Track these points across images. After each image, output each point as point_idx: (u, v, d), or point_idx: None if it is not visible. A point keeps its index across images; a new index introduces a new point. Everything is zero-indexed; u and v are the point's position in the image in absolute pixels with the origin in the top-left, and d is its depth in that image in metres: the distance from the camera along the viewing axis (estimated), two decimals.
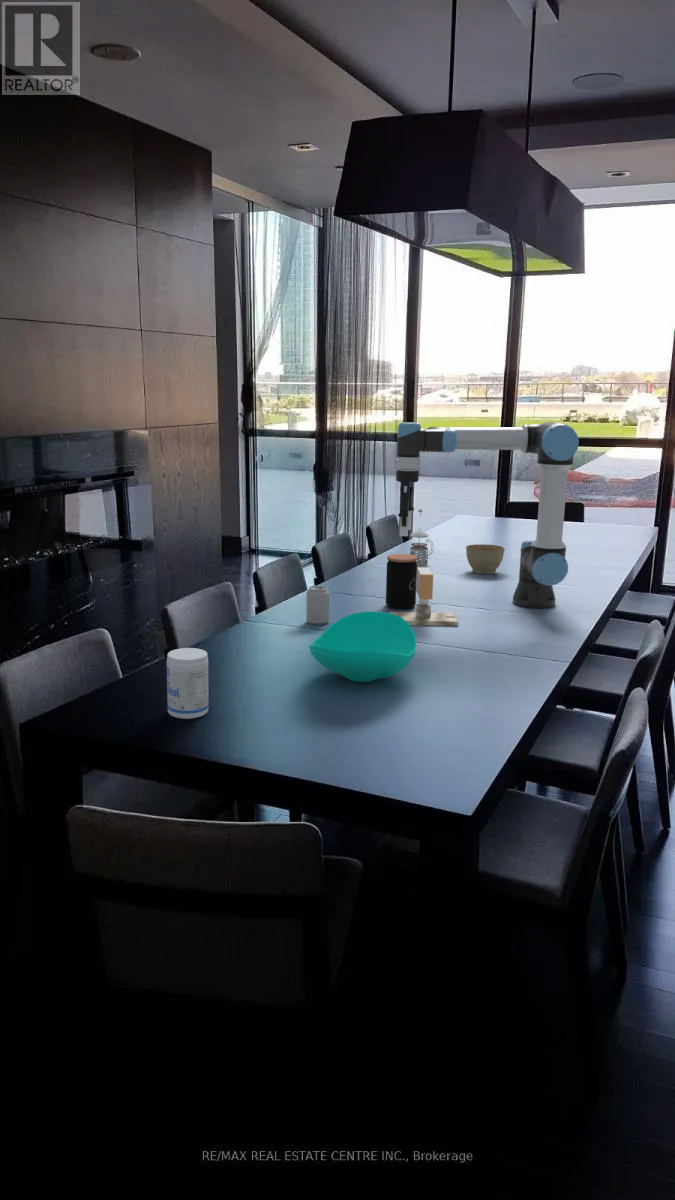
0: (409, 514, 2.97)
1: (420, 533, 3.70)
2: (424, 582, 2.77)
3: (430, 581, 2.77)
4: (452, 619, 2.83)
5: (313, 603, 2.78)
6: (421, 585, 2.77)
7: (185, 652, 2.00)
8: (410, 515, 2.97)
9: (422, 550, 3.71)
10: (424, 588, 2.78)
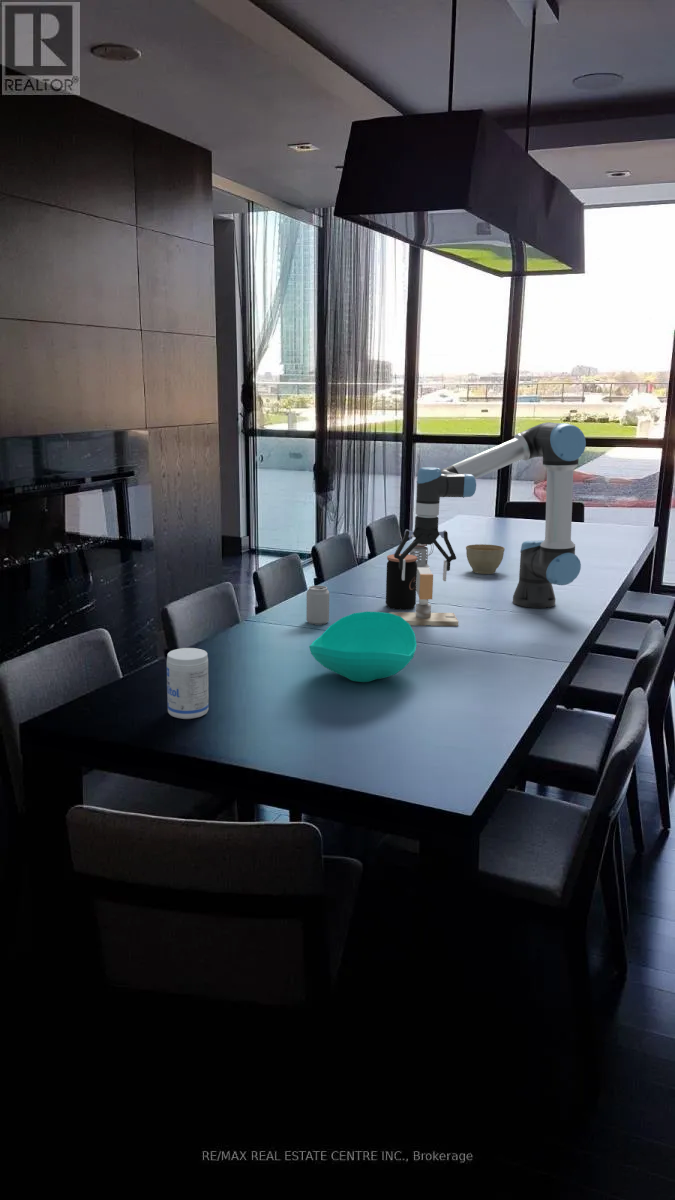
0: (444, 564, 2.81)
1: None
2: (424, 582, 2.77)
3: (430, 581, 2.77)
4: (452, 619, 2.83)
5: (313, 603, 2.78)
6: (421, 585, 2.77)
7: (185, 652, 2.00)
8: (444, 566, 2.81)
9: (422, 550, 3.71)
10: (424, 588, 2.78)
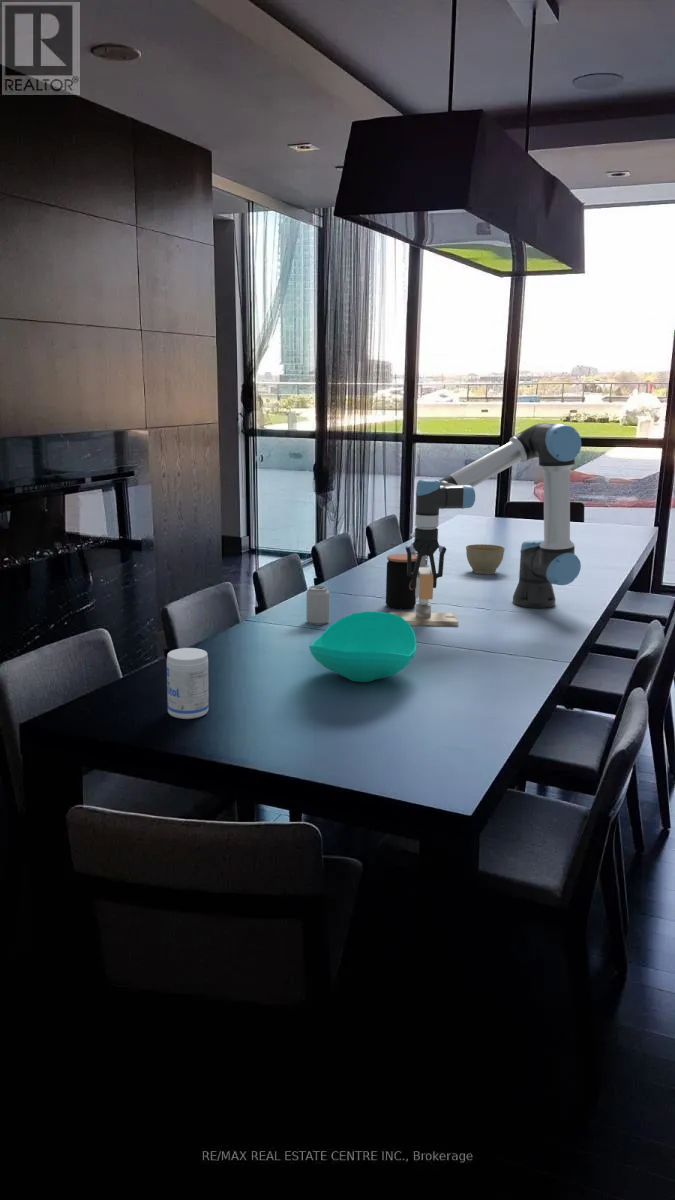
0: None
1: None
2: (424, 582, 2.77)
3: (430, 581, 2.77)
4: (452, 619, 2.83)
5: (313, 603, 2.78)
6: (421, 585, 2.77)
7: (185, 652, 2.00)
8: None
9: None
10: (424, 588, 2.78)
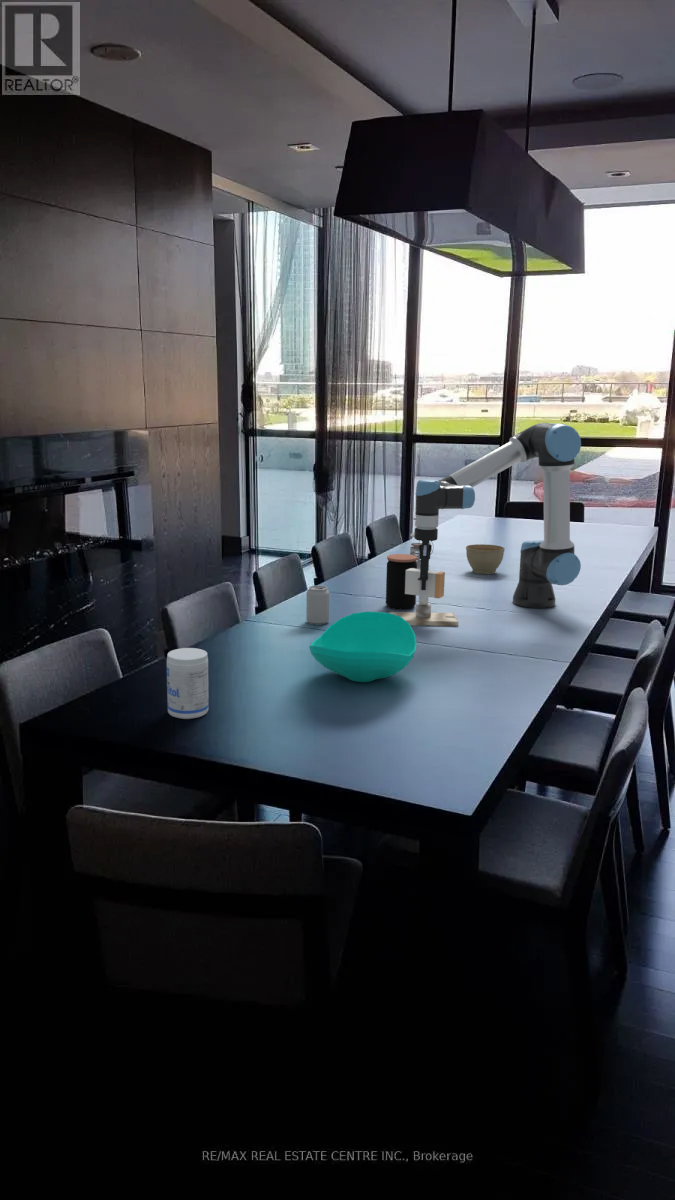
0: None
1: None
2: (441, 580, 2.80)
3: (443, 578, 2.81)
4: (452, 619, 2.83)
5: (313, 603, 2.78)
6: (440, 584, 2.79)
7: (185, 652, 2.00)
8: None
9: None
10: (441, 586, 2.80)
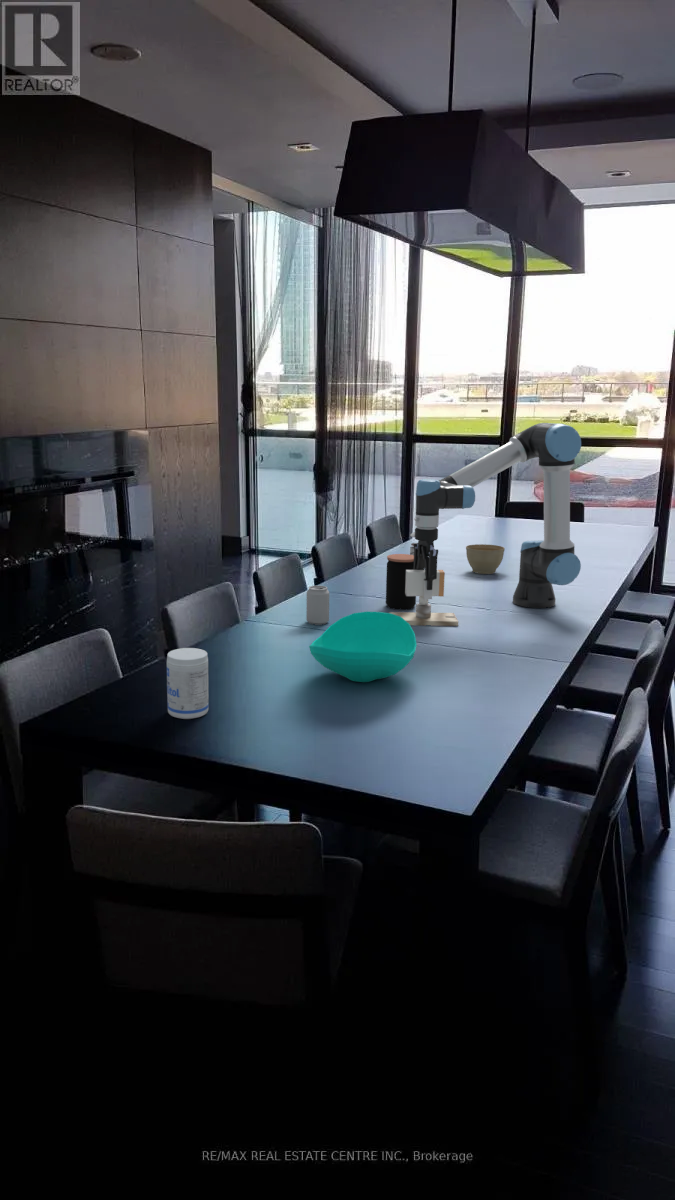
0: None
1: None
2: None
3: None
4: (452, 619, 2.83)
5: (313, 603, 2.78)
6: None
7: (185, 652, 2.00)
8: None
9: None
10: None
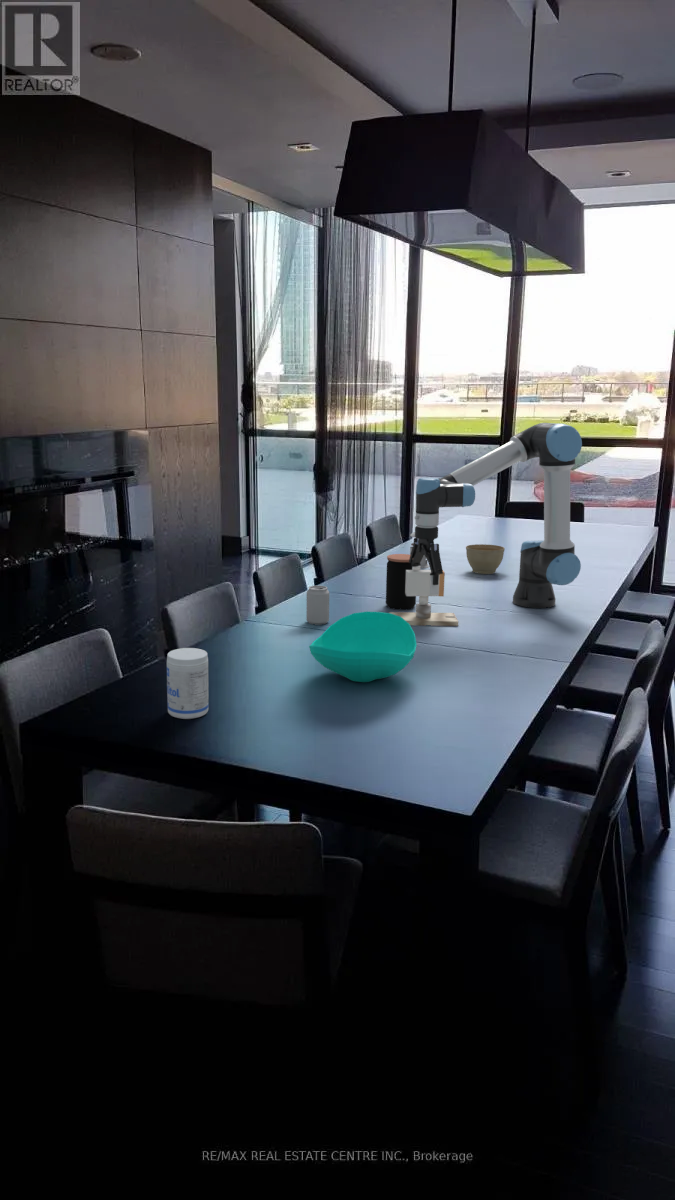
0: (418, 569, 2.89)
1: None
2: None
3: None
4: (452, 619, 2.83)
5: (313, 603, 2.78)
6: None
7: (185, 652, 2.00)
8: None
9: None
10: None
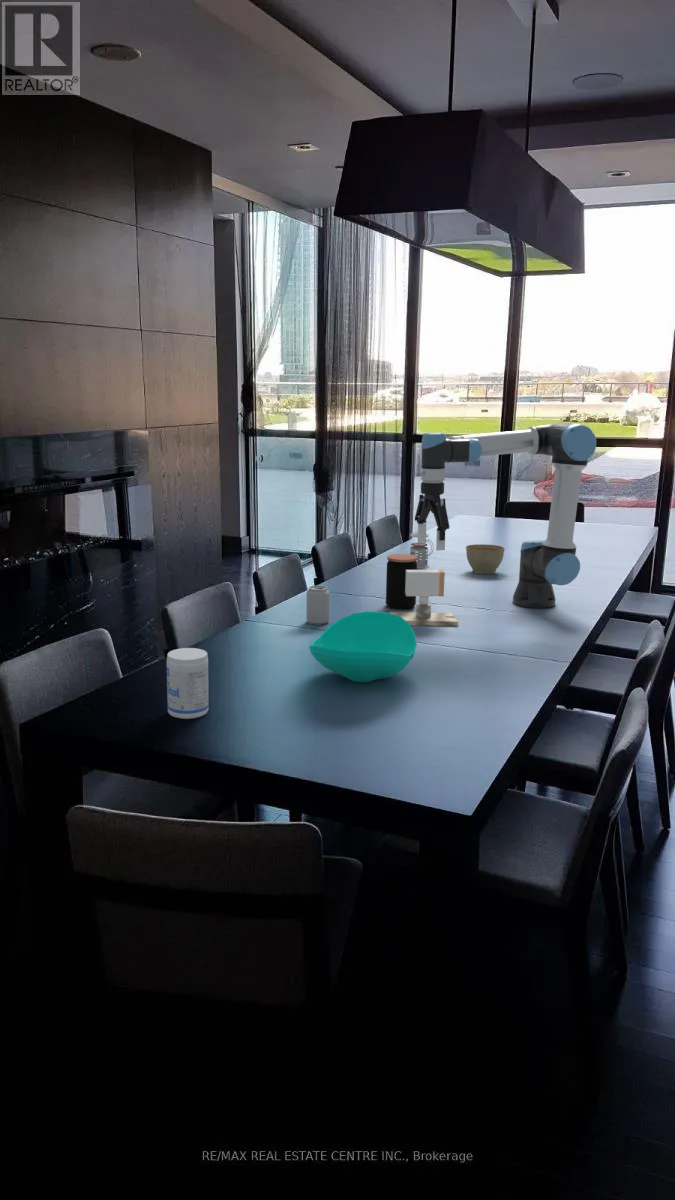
0: (424, 527, 2.87)
1: None
2: None
3: None
4: (452, 619, 2.83)
5: (313, 603, 2.78)
6: None
7: (185, 652, 2.00)
8: (425, 528, 2.87)
9: (422, 550, 3.71)
10: None
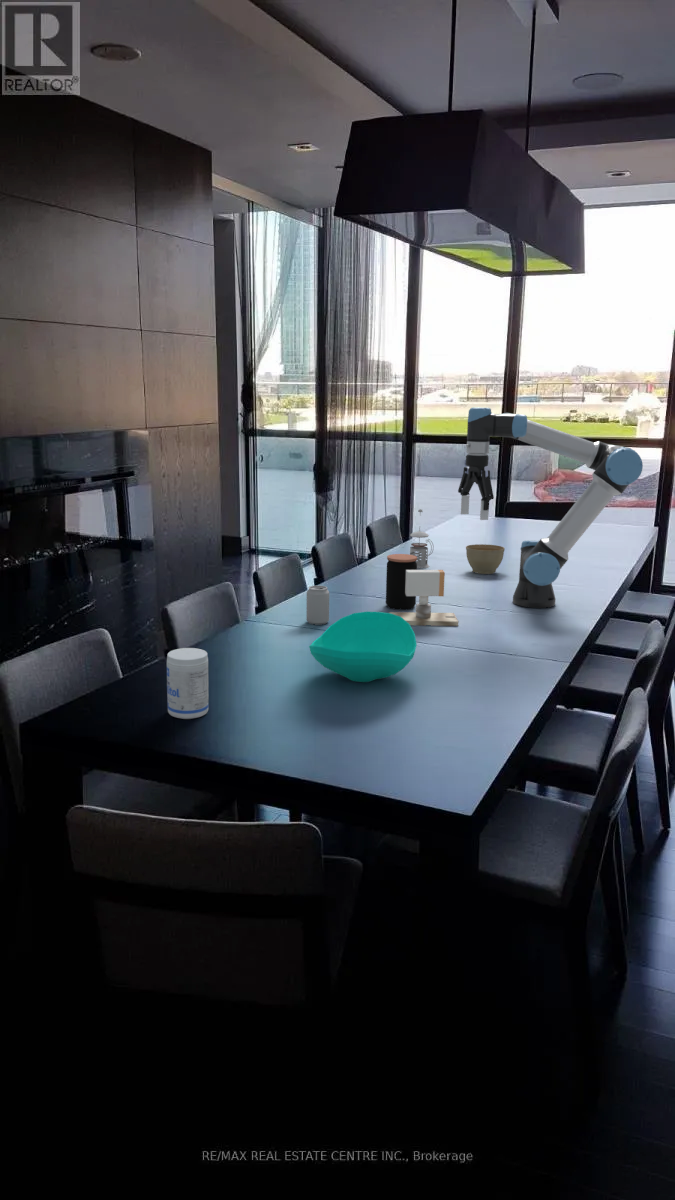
0: (467, 498, 3.00)
1: (420, 533, 3.70)
2: None
3: None
4: (452, 619, 2.83)
5: (313, 603, 2.78)
6: None
7: (185, 652, 2.00)
8: (468, 499, 3.00)
9: (422, 550, 3.71)
10: None
